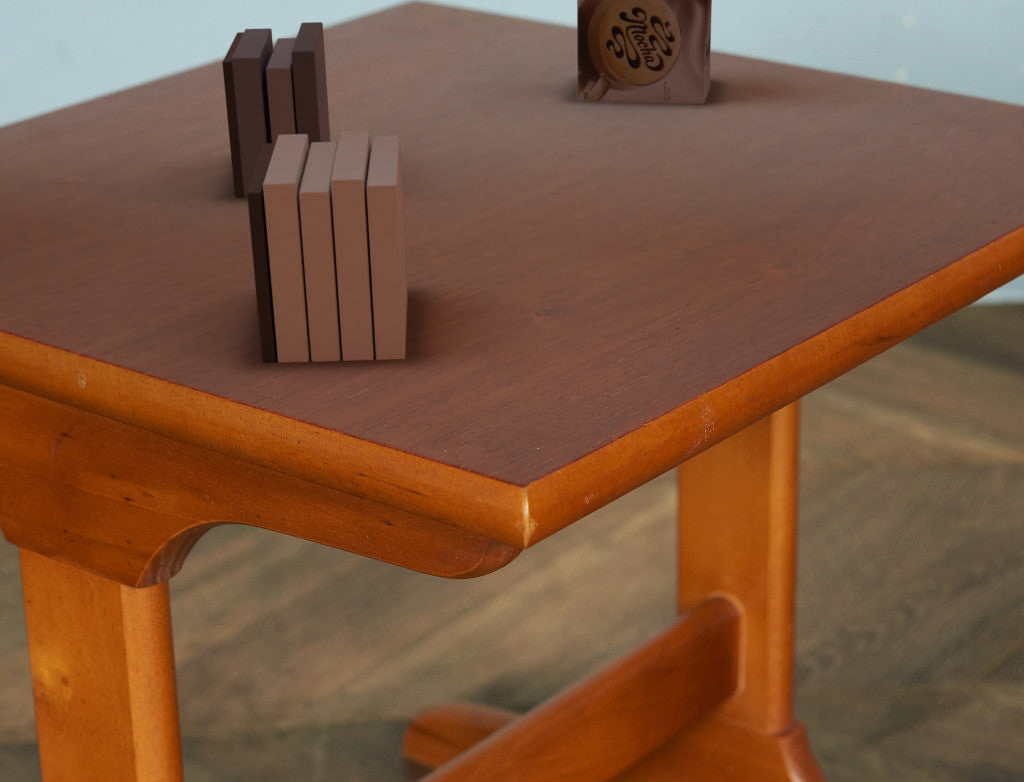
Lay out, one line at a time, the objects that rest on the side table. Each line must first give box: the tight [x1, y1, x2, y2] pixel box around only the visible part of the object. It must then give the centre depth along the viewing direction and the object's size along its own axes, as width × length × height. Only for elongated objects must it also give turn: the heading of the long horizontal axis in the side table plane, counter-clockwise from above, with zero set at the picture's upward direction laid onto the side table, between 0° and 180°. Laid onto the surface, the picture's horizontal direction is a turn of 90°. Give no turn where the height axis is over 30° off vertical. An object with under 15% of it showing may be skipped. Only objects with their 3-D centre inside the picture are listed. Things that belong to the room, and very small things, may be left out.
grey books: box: [221, 21, 331, 198], centre depth 99 cm, size 5×8×8 cm, turn 2°
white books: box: [246, 129, 408, 364], centre depth 77 cm, size 6×8×8 cm
